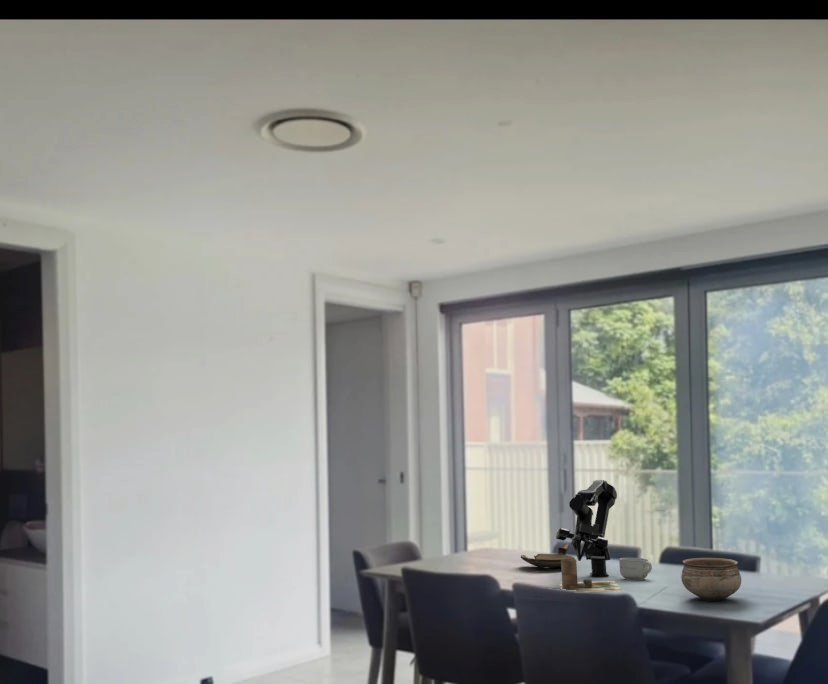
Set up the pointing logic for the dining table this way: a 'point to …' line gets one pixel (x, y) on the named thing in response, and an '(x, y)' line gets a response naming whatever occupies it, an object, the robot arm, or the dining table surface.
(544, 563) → the oil lamp
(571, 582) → the brown piece
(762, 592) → the dining table surface
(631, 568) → the teacup
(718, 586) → the cooking pot
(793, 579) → the dining table surface
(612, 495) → the robot arm
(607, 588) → the dial board
